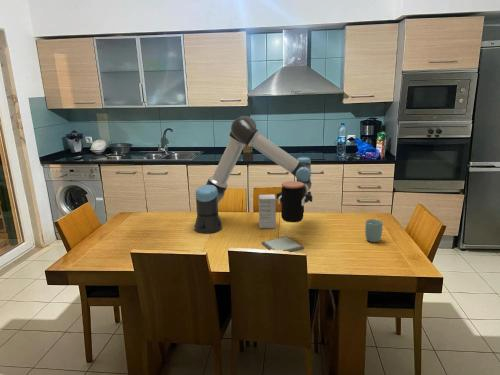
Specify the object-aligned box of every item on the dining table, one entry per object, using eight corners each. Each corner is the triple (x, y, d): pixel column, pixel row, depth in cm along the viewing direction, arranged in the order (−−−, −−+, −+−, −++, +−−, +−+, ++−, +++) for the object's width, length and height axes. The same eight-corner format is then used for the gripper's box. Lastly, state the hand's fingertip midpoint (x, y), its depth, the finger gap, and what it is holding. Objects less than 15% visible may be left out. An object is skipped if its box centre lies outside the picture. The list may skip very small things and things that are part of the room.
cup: (373, 245, 177) (374, 225, 175) (361, 239, 184) (362, 220, 182) (384, 241, 181) (386, 222, 178) (372, 236, 188) (374, 218, 185)
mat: (261, 243, 182) (261, 241, 182) (287, 238, 188) (287, 235, 188) (276, 255, 169) (276, 252, 168) (303, 249, 175) (303, 246, 174)
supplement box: (276, 228, 202) (275, 198, 198) (259, 228, 202) (258, 199, 198) (275, 222, 211) (275, 194, 207) (259, 222, 211) (258, 194, 207)
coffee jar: (305, 217, 184) (306, 182, 179) (299, 224, 174) (300, 187, 170) (285, 214, 188) (285, 180, 183) (278, 221, 178) (278, 185, 174)
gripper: (321, 198, 192) (314, 211, 172) (278, 195, 200) (267, 207, 179) (322, 184, 190) (315, 196, 170) (278, 182, 198) (267, 192, 177)
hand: (290, 202), depth 175 cm, fingers closed on coffee jar, 11 cm apart
